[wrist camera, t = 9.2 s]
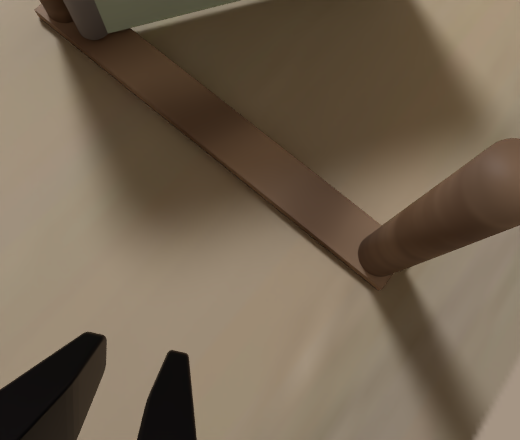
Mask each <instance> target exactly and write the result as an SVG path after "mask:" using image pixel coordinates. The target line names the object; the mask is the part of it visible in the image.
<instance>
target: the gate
mask: <svg viewBox="0 0 520 440" xmlns="http://www.w3.org/2000/svg"><path fill="white" fill-rule="evenodd" d="M63 1H64V3H65V5H66V7H67V9H68V11H69V13H70V15H71V17H72V19H73V21H74V23H75V25H76V27H77V29H78V31H79V33H80V34H81V35H82V36H83V37H84V38H86V39H89V40H99V39H101V38H103V37H105V36H106V35H107V34H108V33H112V32H116V31H120V30H124V29H128V28H132V27H136V26H140V25H144V24H148V23H152V22H156V21H160V20H164V19H168V18H172V17H176V16H180V15H184V14H188V13H192V12H196V11H200V10H204V9H208V8H212V7H216V6H220V5H224V4H228V3H232V2H236V1H240V0H63Z"/></svg>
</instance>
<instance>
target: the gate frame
mask: <svg viewBox="0 0 520 440" xmlns="http://www.w3.org/2000/svg"><path fill="white" fill-rule="evenodd" d="M40 2H41V3H42V4H41V5H39V6H38V7H37V8H36V9H35V12H36V13H37V15H38V16H39V17H40V18H41V19H42V20H43V21H45V22H46V23H47V24H48V25H50V26H51V27H52V28H53V29H55V30H56V31H57V32H58V33H60V34H61V35H62V36H63V37H65V38H66V39H67V40H68V41H70V42H71V43H72V44H73V45H75V46H76V47H77V48H78V49H79V50H81V51H82V52H83V53H84V54H86V55H87V56H88V57H89V58H91V59H92V60H93V61H94V62H96V63H97V64H98V65H99V66H101V67H102V68H103V69H104V70H106V71H107V72H108V73H109V74H111V75H112V76H113V77H114V78H116V79H117V80H118V81H119V82H120V83H122V84H123V85H124V86H125V87H127V88H128V89H129V90H130V91H132V92H133V93H134V94H135V95H137V96H138V97H139V98H140V99H142V100H143V101H144V102H145V103H147V104H148V105H149V106H150V107H152V108H153V109H154V110H155V111H156V112H158V113H159V114H160V115H161V116H163V117H164V118H165V119H166V120H168V121H169V122H170V123H171V124H173V125H174V126H175V127H176V128H178V129H179V130H180V131H181V132H183V133H184V134H185V135H186V136H188V137H189V138H190V139H191V140H192V141H194V142H195V143H196V144H197V145H199V146H200V147H201V148H202V149H204V150H205V151H206V152H207V153H209V154H210V155H211V156H212V157H214V158H215V159H216V160H217V161H219V162H220V163H221V164H222V165H224V166H225V167H226V168H227V169H228V170H230V171H231V172H232V173H233V174H235V175H236V176H237V177H238V178H240V179H241V180H242V181H243V182H245V183H246V184H247V185H248V186H250V187H251V188H252V189H253V190H255V191H256V192H257V193H258V194H260V195H261V196H262V197H263V198H265V199H266V200H267V201H268V202H269V203H271V204H272V205H273V206H274V207H276V208H277V209H278V210H279V211H281V212H282V213H283V214H284V215H286V216H287V217H288V218H289V219H291V220H292V221H293V222H294V223H296V224H297V225H298V226H299V227H301V228H302V229H303V230H304V231H305V232H307V233H308V234H309V235H310V236H312V237H313V238H314V239H315V240H317V241H318V242H319V243H320V244H322V245H323V246H324V247H325V248H327V249H328V250H329V251H330V252H332V253H333V254H334V255H335V256H337V257H338V258H339V259H340V260H341V261H343V262H344V263H345V264H346V265H348V266H349V267H350V268H351V269H353V270H354V271H355V272H356V273H358V274H359V275H360V276H361V277H363V278H364V279H365V280H366V281H368V282H369V283H370V284H371V285H373V286H374V287H375V288H376V289H377V290H381V289H382V288H383V287H384V286H385V284H386V283H387V282H388V280H389V279H390V278H391V276H392V275H393V274H394V273H396V272H398V271H401V270H404V269H406V268H409V267H412V266H414V265H417V264H419V263H422V262H425V261H427V260H430V259H432V258H435V257H438V256H440V255H443V254H445V253H448V252H451V251H453V250H456V249H459V248H461V247H464V246H466V245H469V244H472V243H474V242H477V241H479V240H482V239H485V238H487V237H490V236H493V235H495V234H498V233H500V232H503V231H506V230H508V229H511V228H513V227H516V226H519V225H520V139H517V138H510V139H504V140H501V141H498V142H496V143H494V144H493V145H491V146H490V147H489V148H487V149H486V150H484V151H483V152H482V153H480V154H479V155H478V156H476V157H475V158H474V159H472V160H471V161H469V162H468V163H467V164H465V165H464V166H463V167H461V168H460V169H459V170H457V171H456V172H454V173H453V174H452V175H450V176H449V177H448V178H446V179H445V180H444V181H442V182H441V183H439V184H438V185H437V186H435V187H434V188H433V189H431V190H430V191H429V192H427V193H426V194H424V195H423V196H422V197H420V198H419V199H418V200H416V201H415V202H414V203H412V204H411V205H409V206H408V207H407V208H405V209H404V210H403V211H401V212H400V213H398V214H397V215H396V216H394V217H393V218H392V219H390V220H389V221H388V222H386V223H385V224H383V225H380V224H379V223H378V222H377V221H375V220H374V219H373V218H372V217H370V216H369V215H368V214H366V213H365V212H364V211H363V210H361V209H360V208H359V207H357V206H356V205H355V204H354V203H352V202H351V201H350V200H349V199H347V198H346V197H345V196H343V195H342V194H341V193H340V192H338V191H337V190H336V189H335V188H333V187H332V186H331V185H329V184H328V183H327V182H326V181H324V180H323V179H322V178H321V177H319V176H318V175H317V174H315V173H314V172H313V171H312V170H310V169H309V168H308V167H306V166H305V165H304V164H303V163H301V162H300V161H299V160H298V159H296V158H295V157H294V156H292V155H291V154H290V153H289V152H287V151H286V150H285V149H284V148H282V147H281V146H280V145H278V144H277V143H276V142H275V141H273V140H272V139H271V138H269V137H268V136H267V135H266V134H264V133H263V132H262V131H261V130H259V129H258V128H257V127H255V126H254V125H253V124H252V123H250V122H249V121H248V120H247V119H245V118H244V117H243V116H241V115H240V114H239V113H238V112H236V111H235V110H234V109H233V108H231V107H230V106H229V105H227V104H226V103H225V102H224V101H222V100H221V99H220V98H218V97H217V96H216V95H215V94H213V93H212V92H211V91H210V90H208V89H207V88H206V87H204V86H203V85H202V84H201V83H199V82H198V81H197V80H196V79H194V78H193V77H192V76H190V75H189V74H188V73H187V72H185V71H184V70H183V69H182V68H180V67H179V66H178V65H176V64H175V63H174V62H173V61H171V60H170V59H169V58H167V57H166V56H165V55H164V54H162V53H161V52H160V51H159V50H157V49H156V48H155V47H153V46H152V45H151V44H150V43H148V42H147V41H146V40H145V39H143V38H142V37H141V36H139V35H138V34H137V33H136V32H134V31H133V30H132V29H131V28H128V29H124V30H120V31H116V32H112V33H108V34H107V35H106V36H105V37H103V38H101V39H99V40H89V39H86V38H84V37H83V36H82V35H81V34H80V33H79V31H78V29H77V27H76V25H75V23H74V21H73V19H72V17H71V15H70V13H69V11H68V9H67V7H66V5H65V3H64V1H63V0H40Z"/></svg>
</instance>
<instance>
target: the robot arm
mask: <svg viewBox="0 0 520 440" xmlns="http://www.w3.org/2000/svg"><path fill="white" fill-rule="evenodd" d="M106 345H107V340H106V337H105V336H104V335H101V334H97V333H92V332H85V333H83V334H82V335H80V336H79V337H77V338H76V339H74V340H73V341H71V342H70V343H68V344H67V345H65V346H64V347H62V348H61V349H59V350H58V351H56V352H55V353H54V354H52V355H51V356H49V357H48V358H46V359H45V360H43V361H42V362H40V363H39V364H37V365H36V366H34V367H33V368H31V369H30V370H28V371H27V372H25V373H24V374H23V375H21V376H20V377H18V378H17V379H15V380H14V381H12V382H11V383H9V384H8V385H6V386H5V387H3V388H2V389H0V440H77V437H78V435H79V433H80V430H81V428H82V425H83V423H84V420H85V418H86V415H87V413H88V411H89V408H90V406H91V403H92V401H93V398H94V396H95V393H96V391H97V388H98V386H99V383H100V381H101V379H102V376H103V373H104V370H105V366H106ZM137 440H197V438H196V428H195V417H194V407H193V397H192V386H191V376H190V366H189V357H188V354H186V353H183V352H178V351H174V350H170V351H169V352H168V353H167V355H166V358H165V360H164V362H163V364H162V367H161V369H160V371H159V373H158V376H157V378H156V380H155V382H154V385H153V387H152V389H151V391H150V394H149V397H148V399H147V402H146V406H145V409H144V413H143V417H142V422H141V426H140V430H139V434H138V438H137Z"/></svg>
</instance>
